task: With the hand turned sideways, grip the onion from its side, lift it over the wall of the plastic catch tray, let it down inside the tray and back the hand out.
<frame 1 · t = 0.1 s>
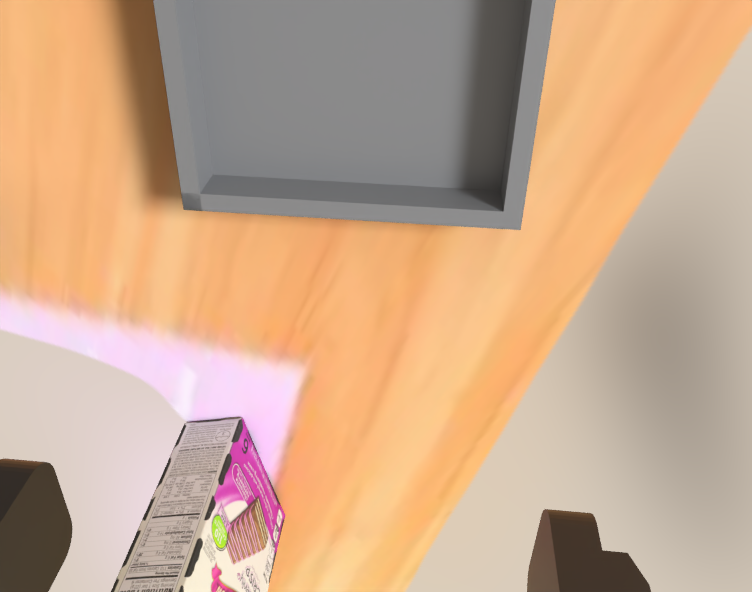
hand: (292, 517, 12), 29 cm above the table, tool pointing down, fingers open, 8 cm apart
candy bar box: (239, 466, 55), on the table
catch tray: (357, 47, 36), on the table
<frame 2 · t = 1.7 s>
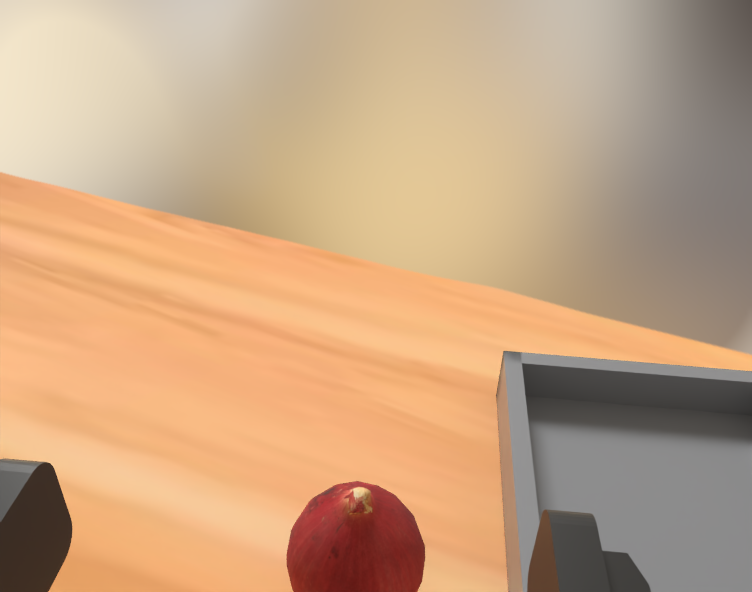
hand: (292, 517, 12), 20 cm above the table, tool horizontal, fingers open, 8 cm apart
catch tray: (661, 528, 36), on the table
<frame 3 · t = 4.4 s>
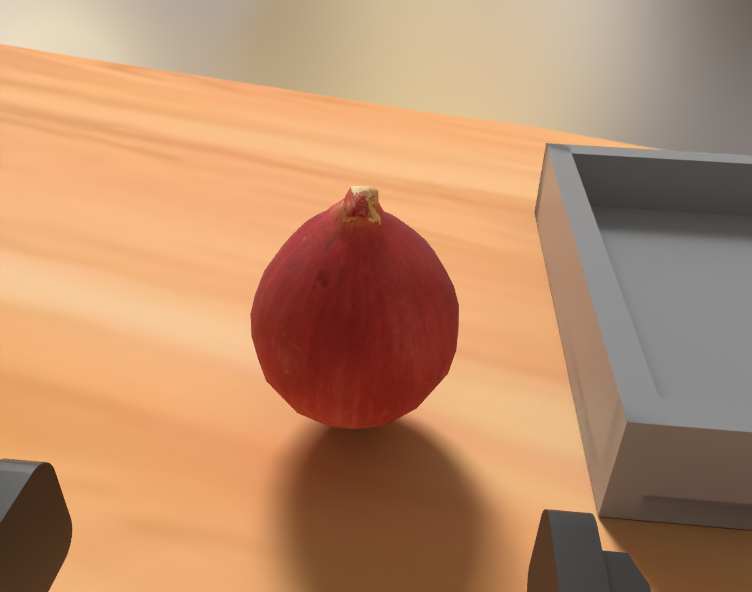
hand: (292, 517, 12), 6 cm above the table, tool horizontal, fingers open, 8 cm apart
onion: (353, 423, 22), on the table
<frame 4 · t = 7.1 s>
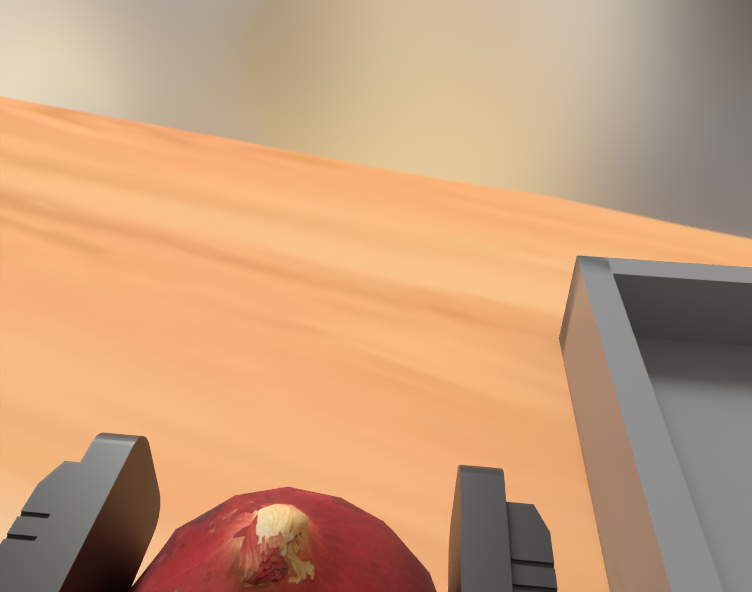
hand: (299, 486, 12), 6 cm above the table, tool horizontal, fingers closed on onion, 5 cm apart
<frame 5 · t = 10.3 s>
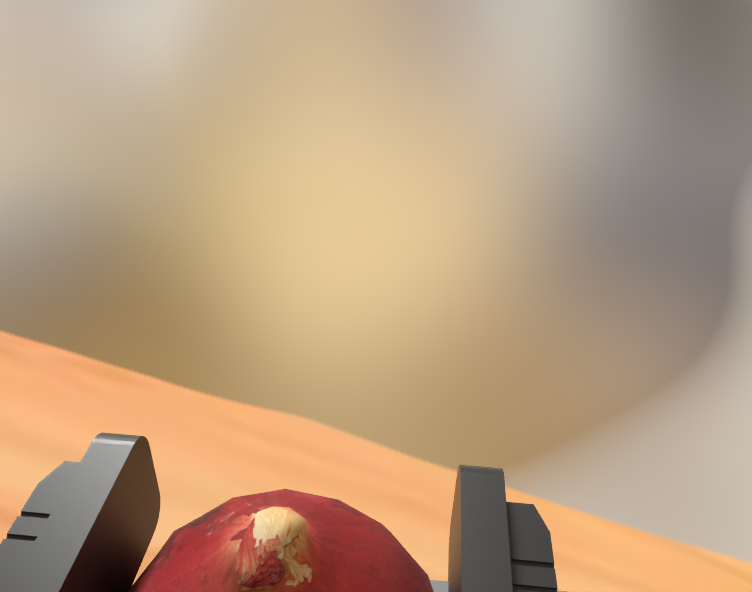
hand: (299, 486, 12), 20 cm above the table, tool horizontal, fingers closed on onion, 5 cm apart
when the fingers open (9 cm above the table, at t = 13.6 s): onion drops 2 cm, resting on catch tray.
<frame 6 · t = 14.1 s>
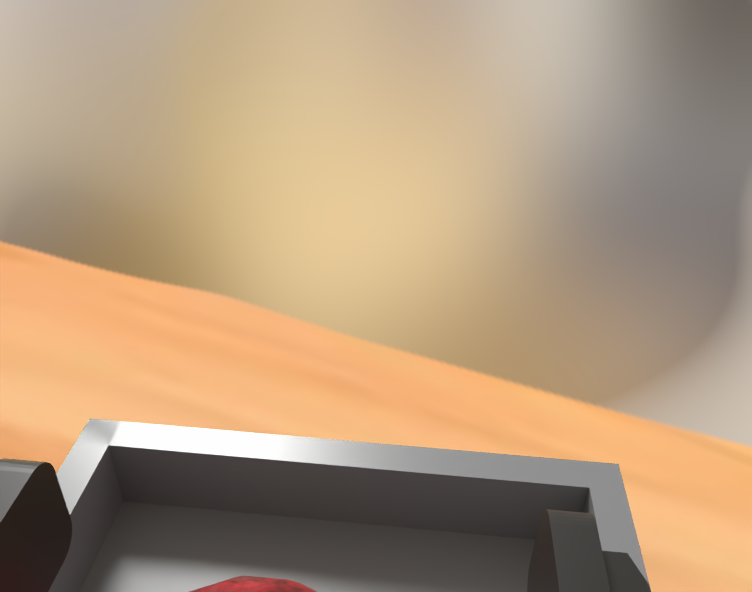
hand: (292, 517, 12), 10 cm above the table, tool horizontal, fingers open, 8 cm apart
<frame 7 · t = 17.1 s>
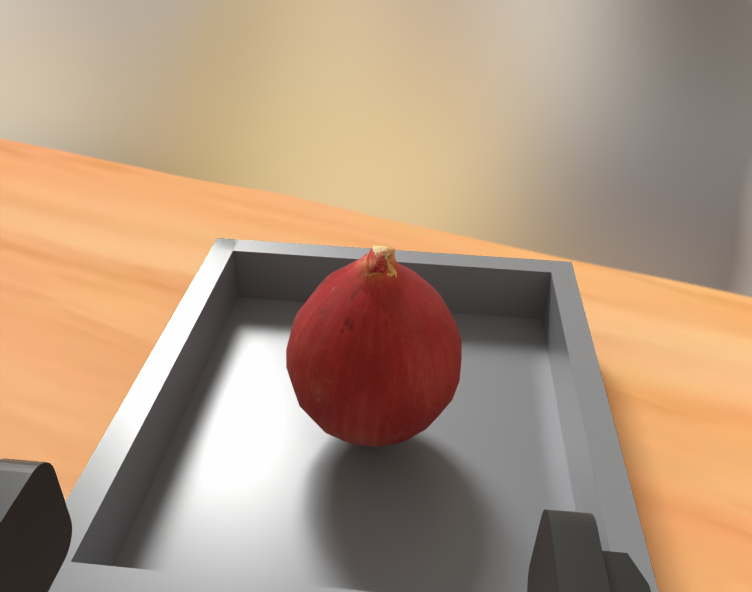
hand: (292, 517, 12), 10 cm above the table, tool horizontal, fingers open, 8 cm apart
onion: (371, 440, 26), point 1 cm above the table, touching catch tray
catch tray: (369, 452, 26), on the table
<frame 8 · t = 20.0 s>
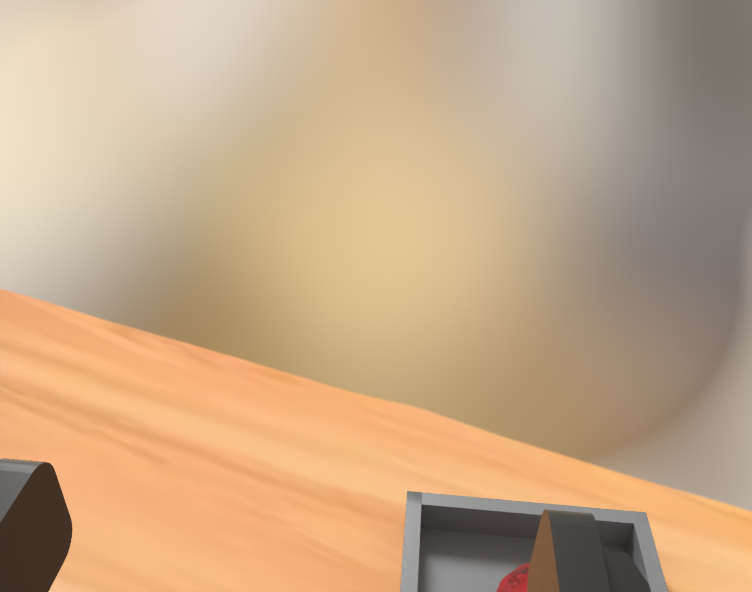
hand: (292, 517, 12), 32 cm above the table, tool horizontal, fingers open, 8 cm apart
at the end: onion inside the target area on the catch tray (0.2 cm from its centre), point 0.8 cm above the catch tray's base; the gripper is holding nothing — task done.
